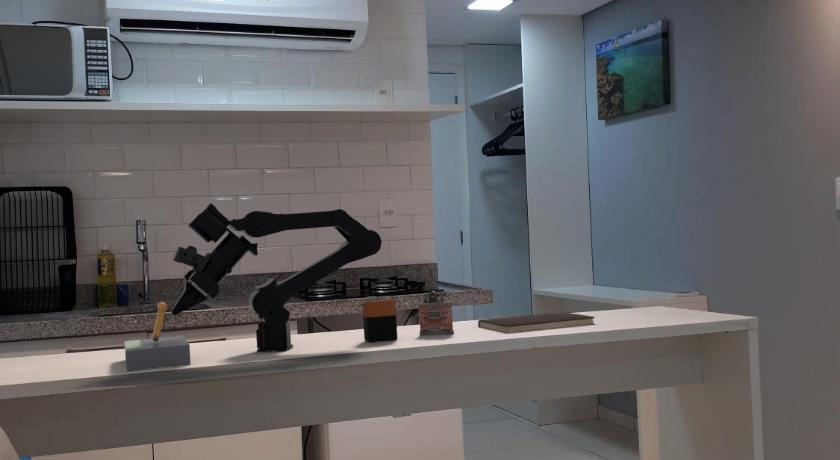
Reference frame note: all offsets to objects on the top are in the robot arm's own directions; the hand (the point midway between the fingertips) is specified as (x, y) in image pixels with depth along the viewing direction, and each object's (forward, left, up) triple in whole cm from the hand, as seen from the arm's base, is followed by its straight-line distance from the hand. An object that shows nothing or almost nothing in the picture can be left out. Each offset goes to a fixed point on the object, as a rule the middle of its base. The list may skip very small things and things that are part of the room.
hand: (172, 313), depth 167 cm
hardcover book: (-76, -33, -10) cm, 83 cm away
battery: (-41, -17, -10) cm, 45 cm away
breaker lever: (+3, +2, -5) cm, 6 cm away
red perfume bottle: (-53, -24, -10) cm, 59 cm away
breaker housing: (+3, +2, -10) cm, 10 cm away
